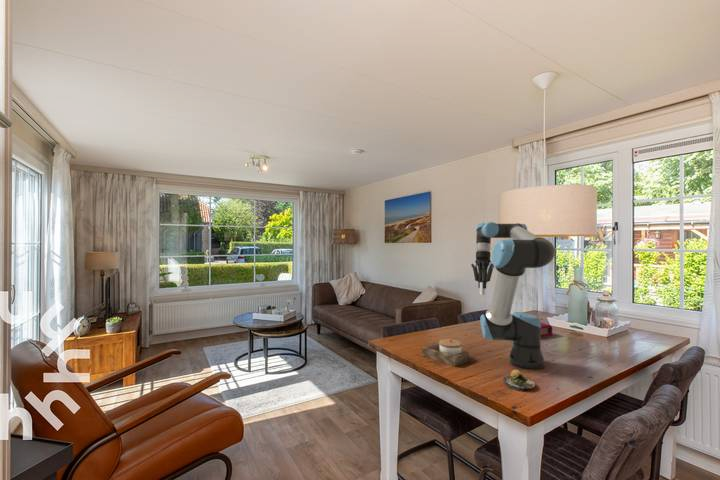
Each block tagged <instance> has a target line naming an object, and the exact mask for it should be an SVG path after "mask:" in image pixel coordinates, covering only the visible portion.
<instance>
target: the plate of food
mask: <svg viewBox="0 0 720 480" xmlns="http://www.w3.org/2000/svg"><path fill="white" fill-rule="evenodd" d="M511 368H512V370H511V371H510V375H506V376H504V377H503V380H502V381H503V385H504V386H505V387H507V388H508V389H510V390H512V391H513V390H515V391H517V392H518V391H519V392H524V390H529V389H533V388H534V387H536V383H535V382H534V381H533V380H532V379H529V378H528V377H525V376H524V375H523V374H521V370H520V369H514V367H513V366H511Z"/></svg>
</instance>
